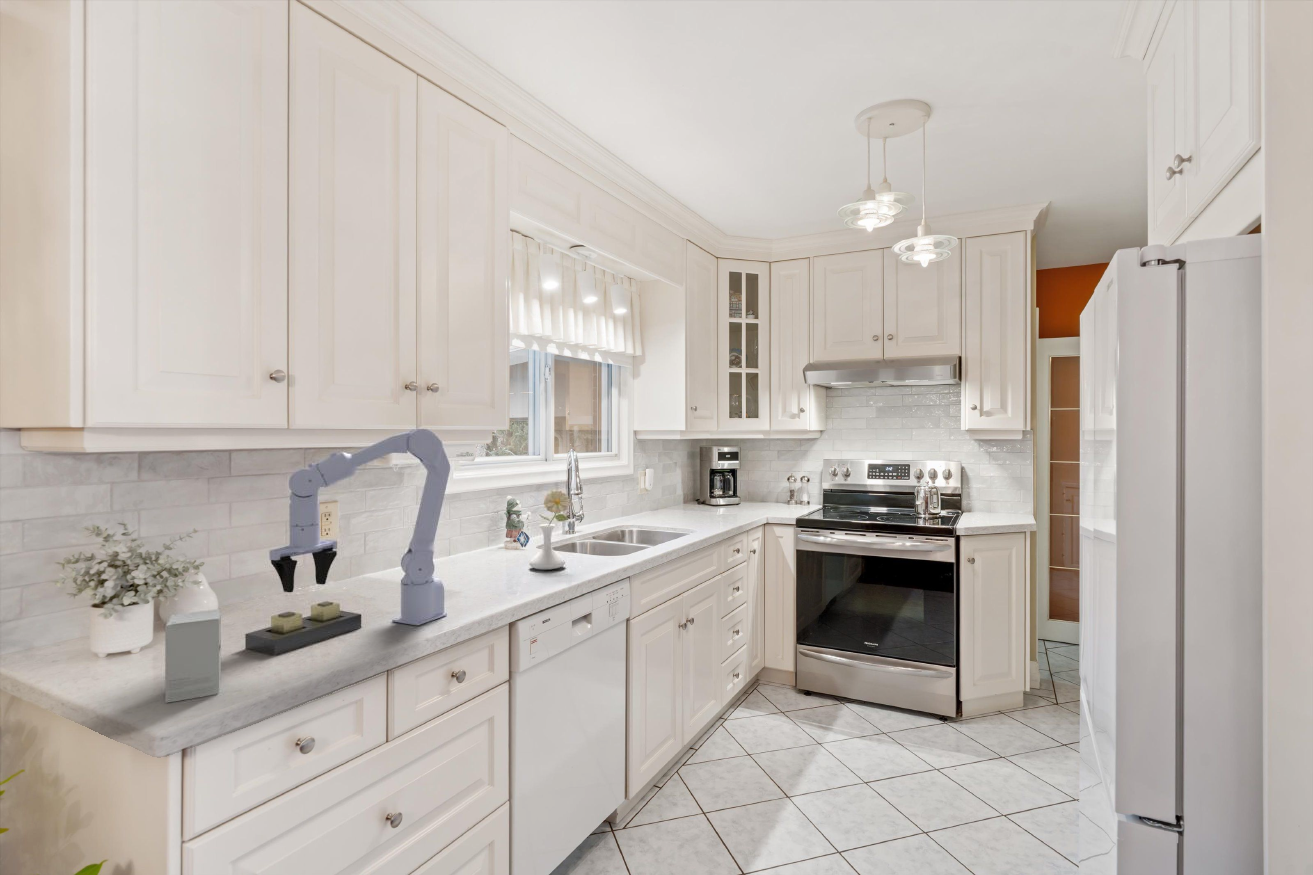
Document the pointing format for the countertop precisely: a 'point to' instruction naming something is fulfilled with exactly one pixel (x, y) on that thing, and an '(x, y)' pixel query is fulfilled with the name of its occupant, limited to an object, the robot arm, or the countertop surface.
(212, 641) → the supplement box
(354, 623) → the rail
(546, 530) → the flower in vase
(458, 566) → the countertop surface
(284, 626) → the block
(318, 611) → the seated nut
